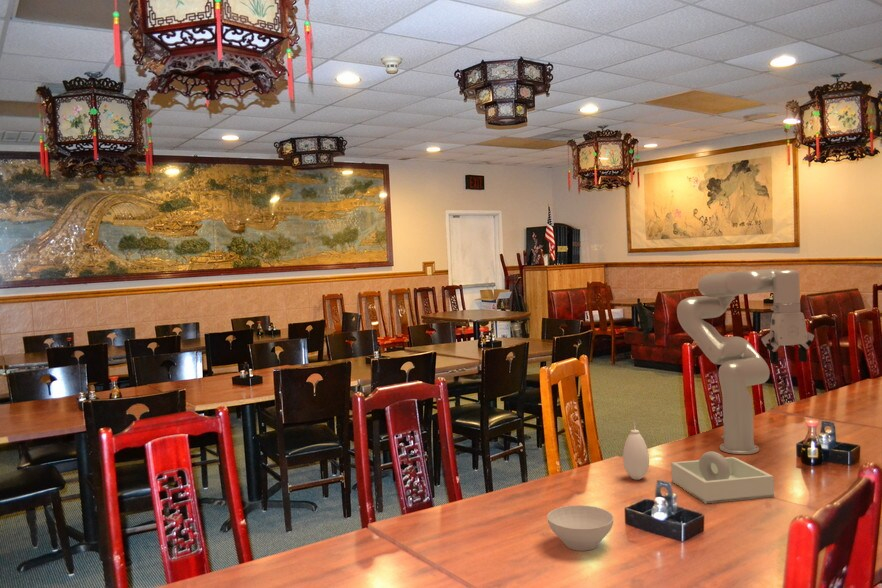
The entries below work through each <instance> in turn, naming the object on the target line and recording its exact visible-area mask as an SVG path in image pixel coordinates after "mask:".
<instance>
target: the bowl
mask: <svg viewBox="0 0 882 588" xmlns="http://www.w3.org/2000/svg"><path fill="white" fill-rule="evenodd" d="M546 517H547V518H546V519H547V522H548V526H549V527H550V529H551V530H552V532H553V533H554V534H555V535H556V537H558V538H559V539H560V540H561V541H562V542H563V543H564V545H565V546H566V547H567V548H568V549H570V550H573V551H578V552H579V551H580V552H585V551H586V552H587V551H591V550H595V548H597V547H598V545H599V544H600V543H601V542H602V540H603V539H605V537H607V535H608V534H609V533H610V531H611V530H612V528H613V525H614V519H615V518H614V515H613V514H612V513H611V512H610V511H608V510H606V509H603V508H601V507H597V506H591V505H579V504H578V505H576V504H575V505H567V506H566V505H565V506H561V507H557V508H555V509H552V510H551V511H550V512H548V513H547V515H546Z"/></svg>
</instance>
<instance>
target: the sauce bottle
mask: <svg viewBox="0 0 882 588" xmlns="http://www.w3.org/2000/svg"><path fill="white" fill-rule="evenodd" d="M622 460H623V461H622V462H623V467H624V469H625V471H626V473H627V475H628V476H629V477H630V478H631V479H633V480H634V481H635V480H636V481H639V480H641V479H643V477H645V476H646V475H647V472H648V470H649V467H650V466H649V465H650V454H649V450H648V446H647V444H646V441H645V439H644V438H643V436H642V435H641V433H640V430H638V429H636V422H635V421H634V422H633V429H631V430H630V433H629V434H628V436H627V438H626V441H625V443H624V447H623V452H622Z"/></svg>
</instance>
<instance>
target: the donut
mask: <svg viewBox="0 0 882 588" xmlns="http://www.w3.org/2000/svg"><path fill="white" fill-rule="evenodd" d="M725 458H726V457H724V456H723V454H720V453H719V452H717V451H711V450H710V451H706V452H705V453H703V454H702V455H701V456H700V458H699V460H700V461H699V469H700V472H701V474H702V476H703V477H704V479H705V480H706V481H713V480H723V479H729V476H730V467H729V464H728V462H727V460H726V459H725ZM711 463H714V464H715V465H716V466H717V469H718V473H717V474H715V473H714V472H713V471H712V469H711Z"/></svg>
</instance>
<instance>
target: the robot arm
mask: <svg viewBox="0 0 882 588" xmlns="http://www.w3.org/2000/svg"><path fill="white" fill-rule="evenodd" d="M697 288H698V291H699V293H700V294H701V296H690V297H686V298H684V299H682V300H680V302H678V304H677V308H676V314H677V315H676V316H677V320H678V322H679V324H680V326H681V329H683V331H684V332H685V333H686V334H688V336H689V337H690V338H691V340H693V341H694V342H695V343H696V345H697V347H699V349H700V350H701V351H702V353H703V354H704V355H705V357H706V358H707V359H709V361H710V362H711V363H713V364H714V365H720V366H719V368H718V380H719V383H720V386H721V394H722V414H723V415H722V417H723V418H722V419H723V434H722V435H721V439H723V443H721V444H720V445H719V449H720V451H722V452H725V453H729V454H733V455H753V454H756V453H758V452H759V451H760V448H759V446H758V445H756V444H755V443H754V442H755V441H754V440H755V438H754V416H753V415H754V410H753V398H752V396H751V394H750V392H749V389H747V387H750V386H756V385H757V386H758V385H761V384H764V383H766V382H767V381H768V380H769V379H770V374H771V373H770V368H769V365H768V363H767V362H766V360H765V359H764V358H763V356H761V355H760V353H759V352H758V351H757V350H756V349H755V347H754V346H753V345H752V344H751V343H750V342H749V341H748V340H747V339H745V338H743V337H741V336H738V335H737V336H724V335H722V334H721V333H719V331H718V330H717V329H716V327H715V326H713V325H712V324H710V323H709V322H707V321H705V320H704V319H715V318H719V317H721V316H722V315H723V314H725V312H726V311H727V309H728V308H729V306H730V305H731V303H732V301H734V299H735V297H737V296H740V295H749V294H750V295H751V294H752V295H753V294H755V295H756V294H764V293H766V294H767V293H773V294H772V295H773V304H772V306H771V305H770V310H771V311H773V313H771V317H770V318H771V319H770V325H769V327H770V329H769V332H768V333H767V334H766V335H764V336H762V337H761V339H760V340H761V342H762V343H763V346H764V347H765V348H766V349H767V351H769V361H770V364H774V365H779V352H778V351H777V350H778V349H779V348H780V346H785V347H786V346H795V345H797V346H798V347H799V348H798V349H797V352H798V361H799V362H803V363H807V362H808V360H807V359H808V349H809V348H810V346H811V345H812V343H813V341H814V338H815V335H814V333H811V332H809V331H808V330H807V324H806V319H805V315H804V313H803V312H801V294H800V293H801V290H800V273H799V271H798V270H796V269H779V268H778V269H776V268H771V269H770V268H769V269H768V268H767V269H755V270H754V269H753V270H743V271H742V270H741V271H727V272H726V271H724V272H717V273H708V274H706V275H704V276H702V277H701V278H700V279H699V281H698V283H697ZM769 340H770V341H769Z"/></svg>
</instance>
